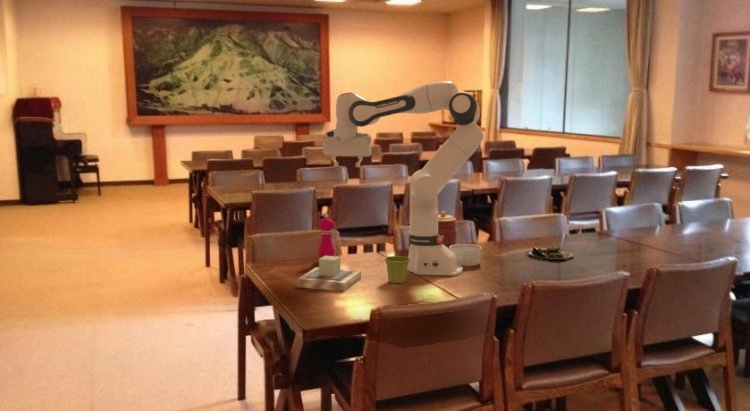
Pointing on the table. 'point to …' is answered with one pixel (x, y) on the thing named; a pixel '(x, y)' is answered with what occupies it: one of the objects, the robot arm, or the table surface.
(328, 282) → the plinth
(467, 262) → the ramekin
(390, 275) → the plant pot
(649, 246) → the table surface
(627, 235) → the table surface
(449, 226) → the canister
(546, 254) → the salad plate
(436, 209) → the robot arm
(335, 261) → the sage cube
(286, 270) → the table surface
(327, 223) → the pepper mill
